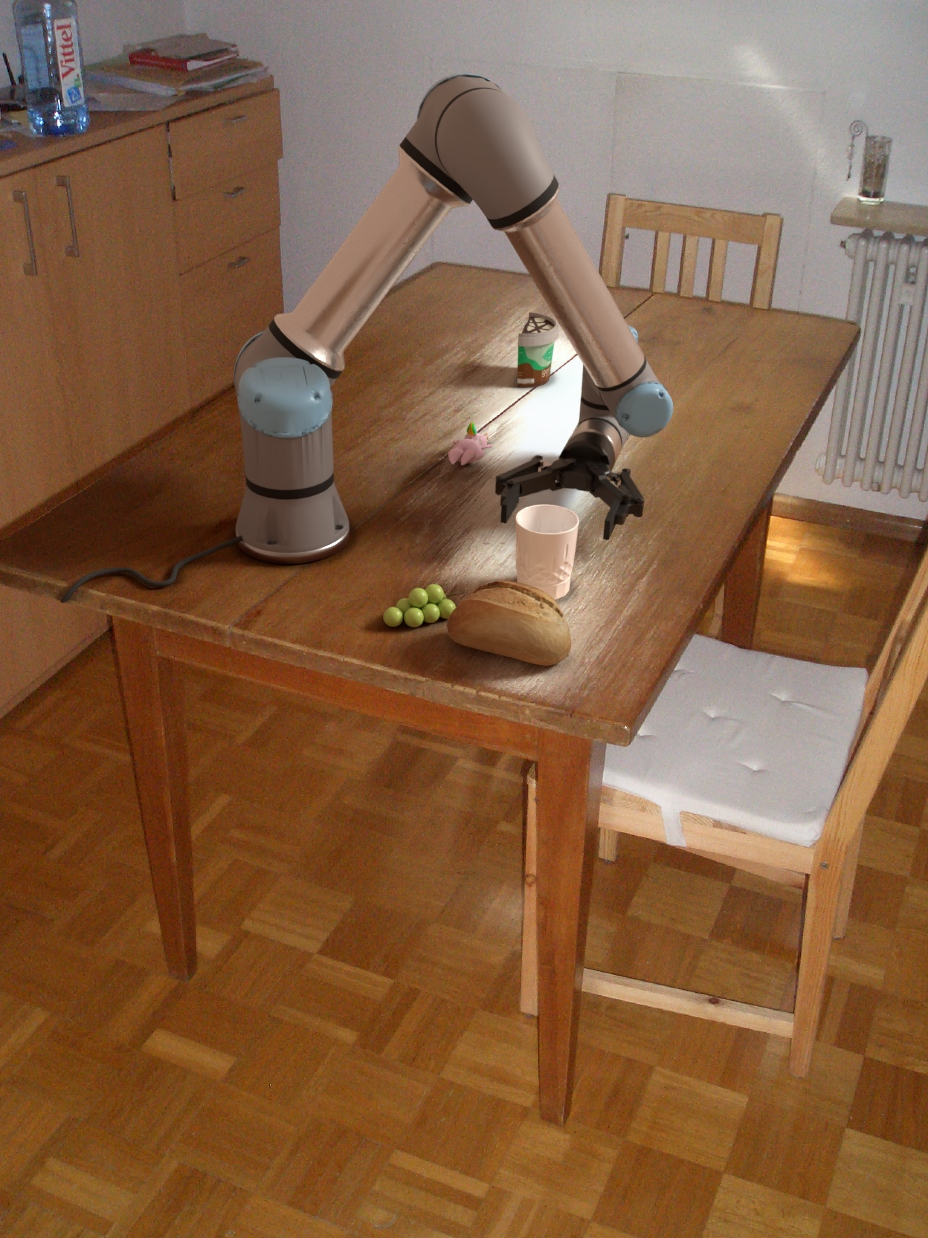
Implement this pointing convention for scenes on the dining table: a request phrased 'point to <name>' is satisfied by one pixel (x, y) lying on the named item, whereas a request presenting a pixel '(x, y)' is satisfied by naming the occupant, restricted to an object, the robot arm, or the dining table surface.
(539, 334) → the food container
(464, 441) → the rabbit figure
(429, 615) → the grapes
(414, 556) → the dining table surface
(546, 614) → the bread roll
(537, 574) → the white cup
